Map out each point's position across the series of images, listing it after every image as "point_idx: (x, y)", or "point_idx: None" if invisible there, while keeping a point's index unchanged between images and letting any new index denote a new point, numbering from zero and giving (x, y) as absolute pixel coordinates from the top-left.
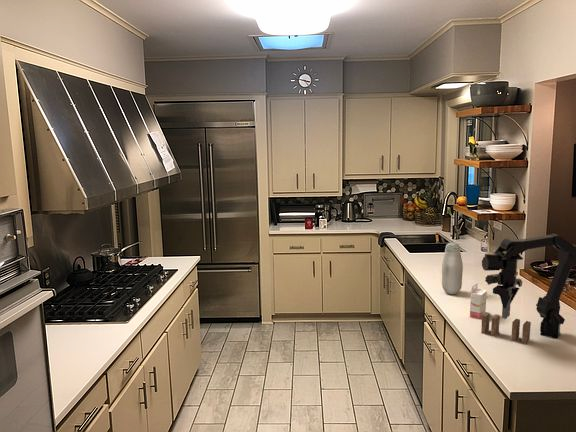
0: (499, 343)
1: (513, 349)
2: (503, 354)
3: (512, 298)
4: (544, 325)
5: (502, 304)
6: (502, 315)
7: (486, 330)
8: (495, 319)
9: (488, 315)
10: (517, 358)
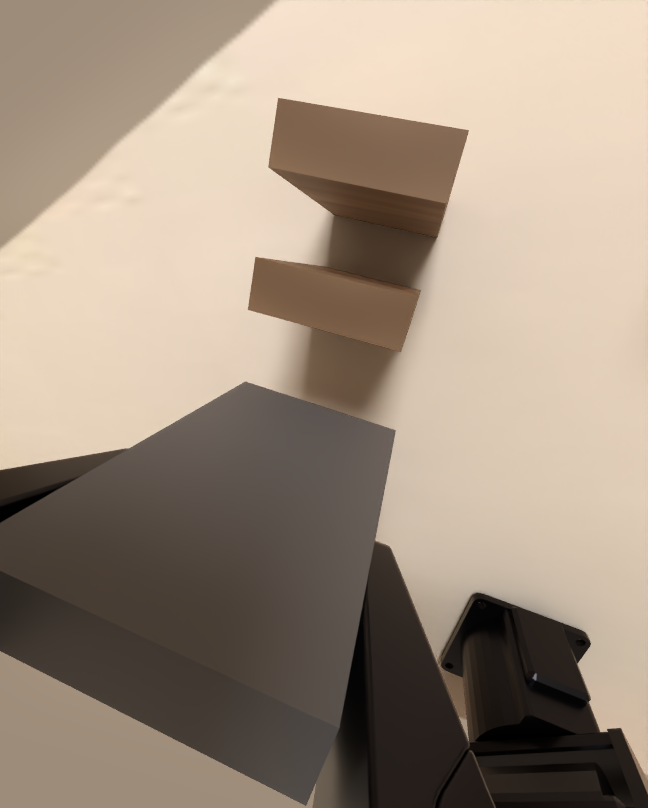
0: (214, 336)
1: (173, 416)
2: (84, 362)
3: (319, 782)
4: (501, 677)
5: (48, 466)
6: (229, 397)
7: (362, 217)
8: (253, 304)
9: (383, 195)
10: (84, 429)
